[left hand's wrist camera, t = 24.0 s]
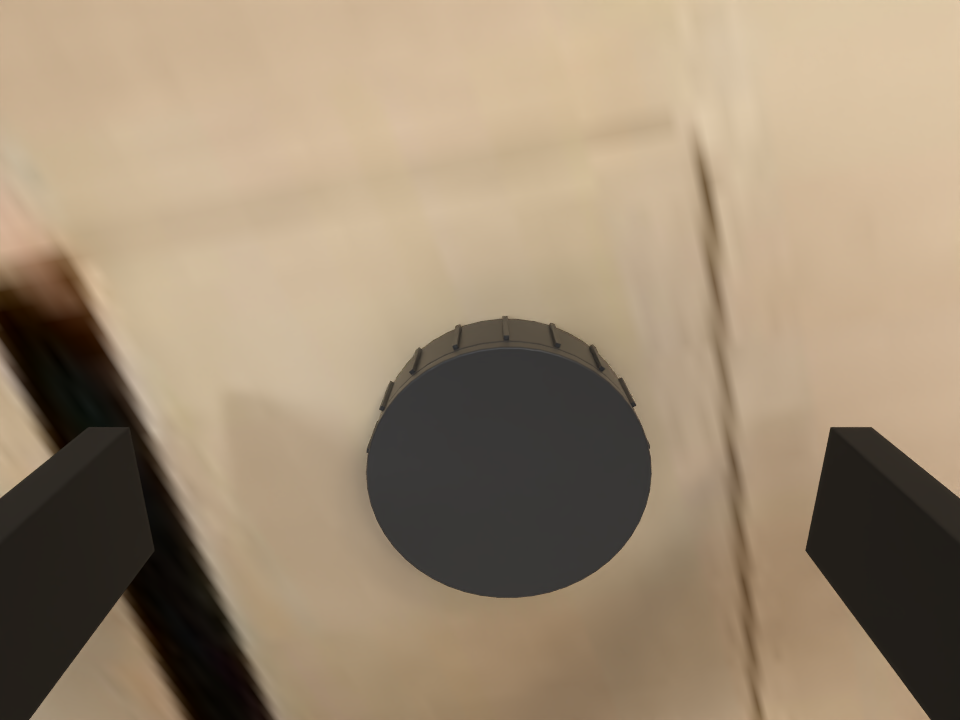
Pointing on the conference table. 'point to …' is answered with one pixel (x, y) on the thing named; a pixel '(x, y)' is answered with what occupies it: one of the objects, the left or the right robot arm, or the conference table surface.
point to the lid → (508, 460)
